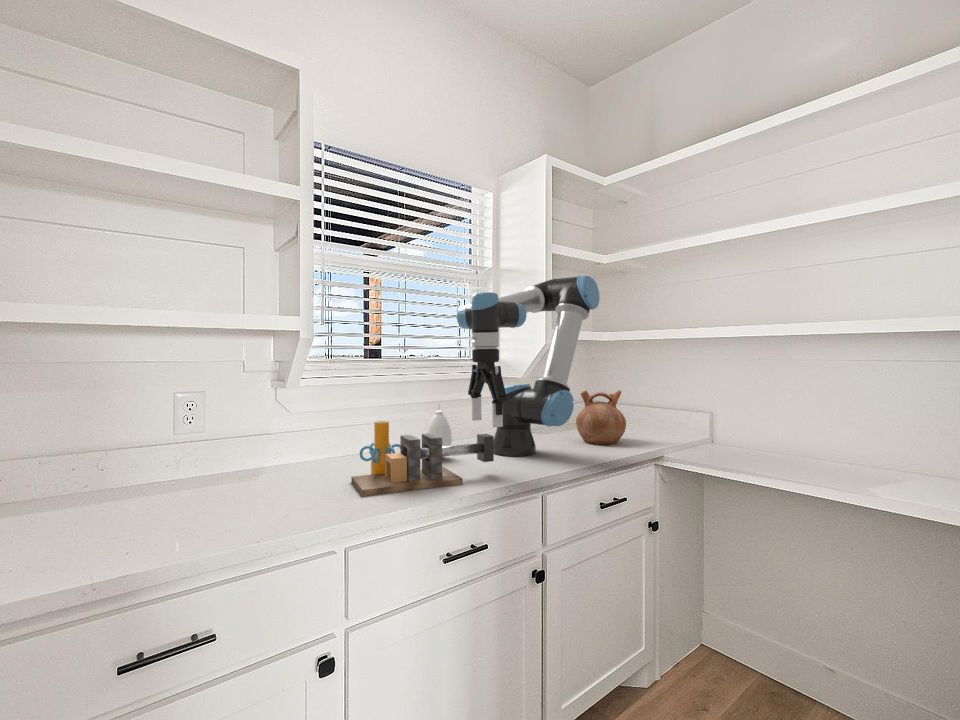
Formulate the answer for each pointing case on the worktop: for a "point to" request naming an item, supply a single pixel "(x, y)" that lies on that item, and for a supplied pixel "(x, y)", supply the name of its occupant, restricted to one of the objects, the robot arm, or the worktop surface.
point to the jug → (601, 420)
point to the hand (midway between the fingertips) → (486, 423)
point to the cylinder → (379, 447)
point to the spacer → (396, 467)
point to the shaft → (468, 449)
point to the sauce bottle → (440, 427)
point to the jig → (412, 469)
